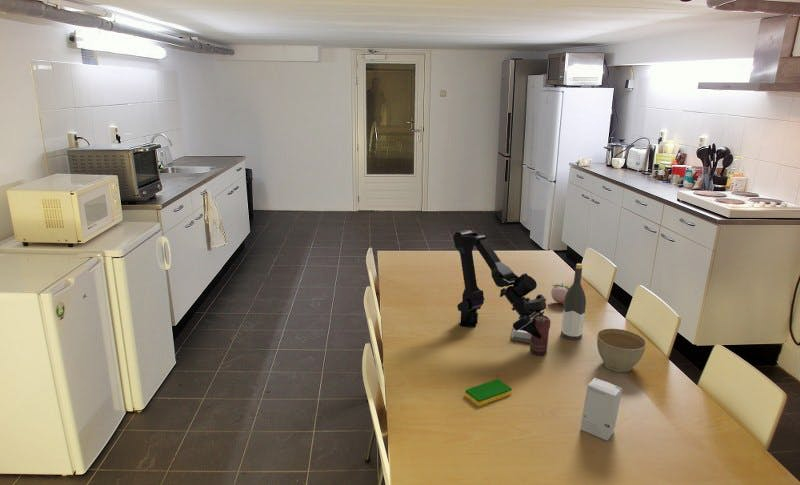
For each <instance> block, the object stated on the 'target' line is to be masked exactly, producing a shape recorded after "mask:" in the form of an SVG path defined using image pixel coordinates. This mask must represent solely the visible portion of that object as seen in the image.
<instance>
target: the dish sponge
mask: <svg viewBox="0 0 800 485" xmlns="http://www.w3.org/2000/svg"><path fill="white" fill-rule="evenodd" d="M512 389H513V388H512V387H510V385H507V384H506V383H505V382H503V381H501V379H499V378H496V379H493V380H490V381H488V382H485V383H481V384H478V385H476V386H475V385H474V386H473V387H470V388H467V389H465V392H464V396H465V397H466V398H467V399H468V400H469V401H471V402H472V403H473V404H475V405H476V406H477V407H481V406H483V404H484V405H486V404H488V402H489V403H491V401H492V402H493V401H496V400H497V401H498V400H499V399H502V398H505V397H507V396H510V395H512Z"/></svg>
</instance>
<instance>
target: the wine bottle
mask: <svg viewBox="0 0 800 485" xmlns="http://www.w3.org/2000/svg"><path fill="white" fill-rule="evenodd" d="M582 272H583V264H582V263H576V265H575V269H574V278H573V279H574V280H573V283H572V285H570V286H569V287H570V288H569V290H568V292H567V293H566V296H565V299H564V303H563V309H562V310H563V311H562V318H561V330H560V333H561V336H562V338H564V339H567V340H569V341H578V340H580V339H581V338H582V337H583V331H584V323H585V314H586V305H587V300H586V298H587V296H586V294H585V291H584V289H583V286H582V283H581V281H582V275H583V274H582Z"/></svg>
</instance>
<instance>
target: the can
mask: <svg viewBox="0 0 800 485" xmlns="http://www.w3.org/2000/svg"><path fill="white" fill-rule="evenodd" d="M534 319H535V326H536V328H537V330H538V332H539V333H540V335H541V336H542V338H541V339H539V338H537V337H535V336H533V335H532V334H531V343H529V344H530V345H529V352H530V353H531V354H532V355H535V356H539V357H541V356H545V355H546V354H547V352H548V346H549V345H548V344H549V334H550V327H551V319H550V318H549V317H548V316H546V315H544V314H543V315H536V316H534V318H533V320H534Z"/></svg>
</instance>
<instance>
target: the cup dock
mask: <svg viewBox="0 0 800 485" xmlns="http://www.w3.org/2000/svg"><path fill="white" fill-rule="evenodd" d="M520 329H521V328H520ZM520 329H519V330H517V331H515V329H514V328H513V327H512V333H511V336H510V341H517V342H522V343H523V342H524V343H529V344H530V343H531V334H530V333H528V332H526V331H524V330H520Z"/></svg>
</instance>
